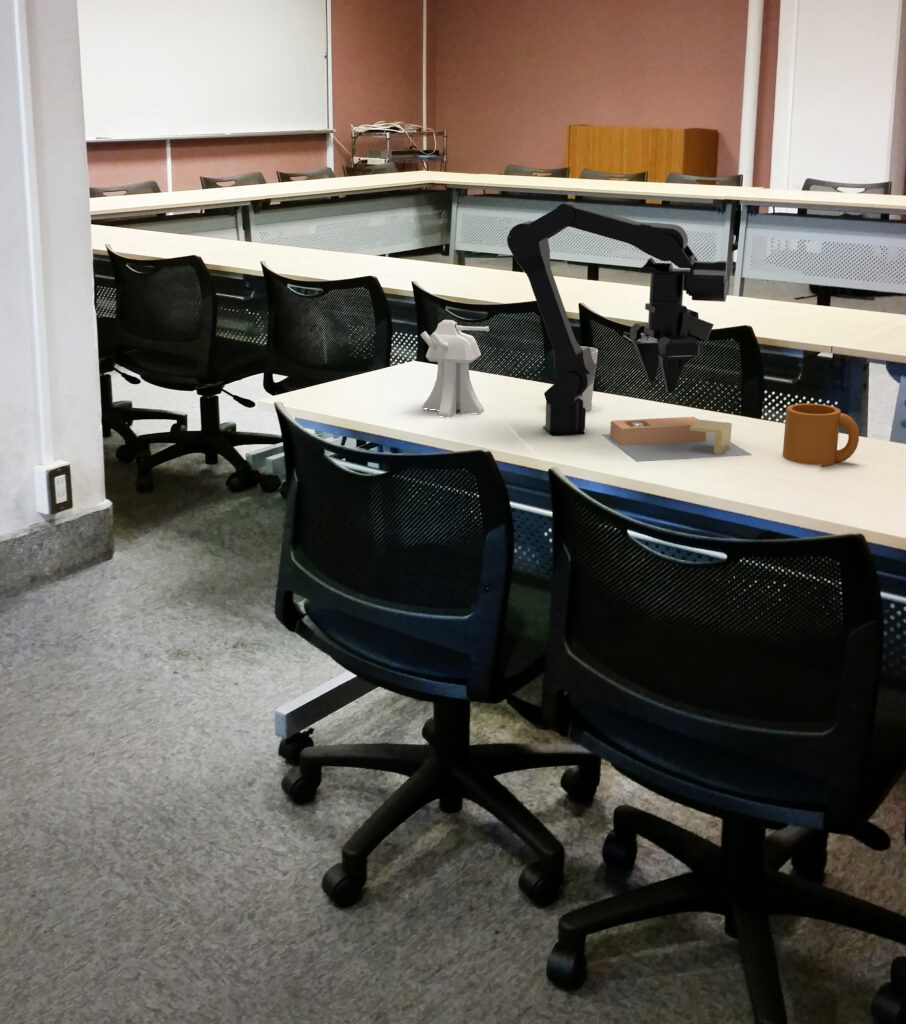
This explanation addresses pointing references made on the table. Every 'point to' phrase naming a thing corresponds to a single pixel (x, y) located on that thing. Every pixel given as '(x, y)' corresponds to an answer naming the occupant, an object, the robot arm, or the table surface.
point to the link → (655, 431)
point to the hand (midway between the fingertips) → (661, 386)
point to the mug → (817, 434)
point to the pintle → (637, 424)
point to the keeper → (716, 433)
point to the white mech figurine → (453, 369)
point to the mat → (676, 450)
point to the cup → (589, 391)
